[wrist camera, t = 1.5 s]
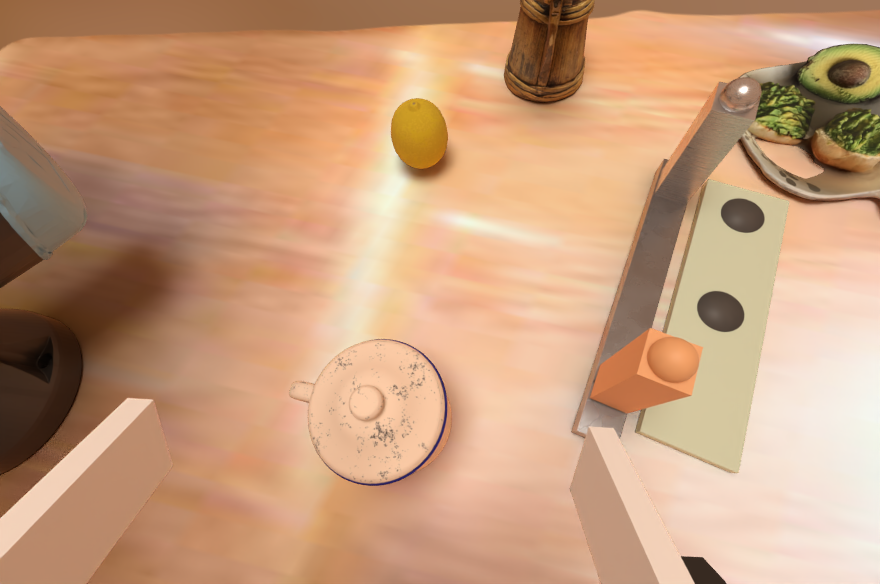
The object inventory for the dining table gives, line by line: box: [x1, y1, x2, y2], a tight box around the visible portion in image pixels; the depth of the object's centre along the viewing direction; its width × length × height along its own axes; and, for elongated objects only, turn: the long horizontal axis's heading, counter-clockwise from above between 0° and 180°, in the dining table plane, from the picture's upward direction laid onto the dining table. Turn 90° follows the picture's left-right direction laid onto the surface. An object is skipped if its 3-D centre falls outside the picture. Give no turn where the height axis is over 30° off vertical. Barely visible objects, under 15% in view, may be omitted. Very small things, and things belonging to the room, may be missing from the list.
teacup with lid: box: [289, 339, 452, 486], centre depth 29 cm, size 12×9×12 cm
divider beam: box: [571, 77, 762, 439], centre depth 30 cm, size 3×27×14 cm, turn 156°
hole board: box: [635, 179, 789, 473], centre depth 34 cm, size 7×25×1 cm, turn 156°
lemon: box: [391, 98, 448, 169], centre depth 40 cm, size 6×6×8 cm
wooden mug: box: [504, 0, 595, 102], centre depth 38 cm, size 9×14×18 cm, turn 167°
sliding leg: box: [590, 328, 703, 413], centre depth 26 cm, size 3×3×12 cm
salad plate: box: [739, 44, 880, 201], centre depth 38 cm, size 19×18×5 cm
